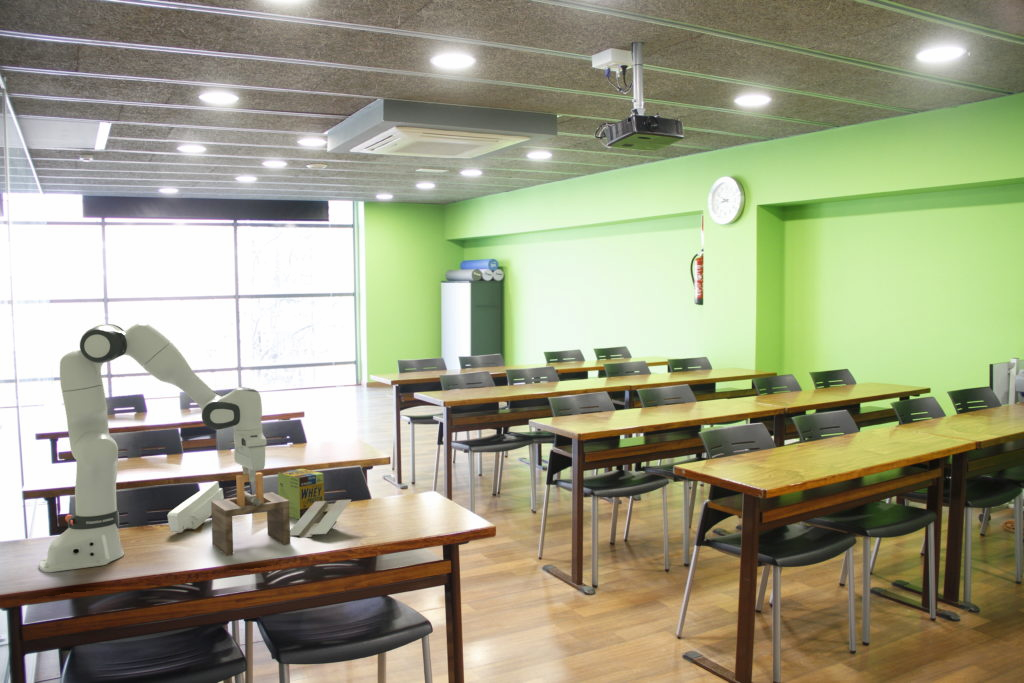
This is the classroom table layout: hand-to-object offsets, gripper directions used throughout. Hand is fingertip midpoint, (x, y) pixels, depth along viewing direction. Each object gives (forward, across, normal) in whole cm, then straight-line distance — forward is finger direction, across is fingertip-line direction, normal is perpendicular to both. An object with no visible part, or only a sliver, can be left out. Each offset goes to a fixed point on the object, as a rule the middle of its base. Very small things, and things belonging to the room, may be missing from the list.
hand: (249, 480), depth 249 cm
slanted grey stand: (+21, +2, +23) cm, 31 cm away
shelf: (+21, 0, 0) cm, 21 cm away
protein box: (+21, -27, +27) cm, 44 cm away
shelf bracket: (+21, -36, -8) cm, 42 cm away
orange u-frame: (+8, 0, 0) cm, 8 cm away
